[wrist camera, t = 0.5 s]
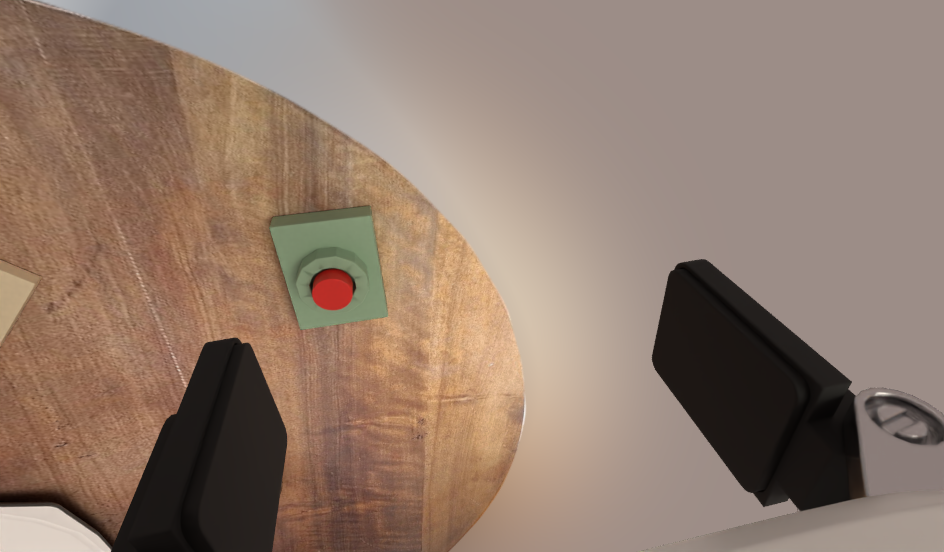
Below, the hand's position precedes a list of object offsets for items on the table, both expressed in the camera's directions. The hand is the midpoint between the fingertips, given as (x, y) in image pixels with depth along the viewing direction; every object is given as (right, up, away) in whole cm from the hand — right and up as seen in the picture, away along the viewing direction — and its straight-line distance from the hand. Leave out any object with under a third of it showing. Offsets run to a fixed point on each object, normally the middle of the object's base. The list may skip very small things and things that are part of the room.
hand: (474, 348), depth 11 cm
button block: (-14, +3, +38) cm, 40 cm away
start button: (-13, +1, +35) cm, 37 cm away
